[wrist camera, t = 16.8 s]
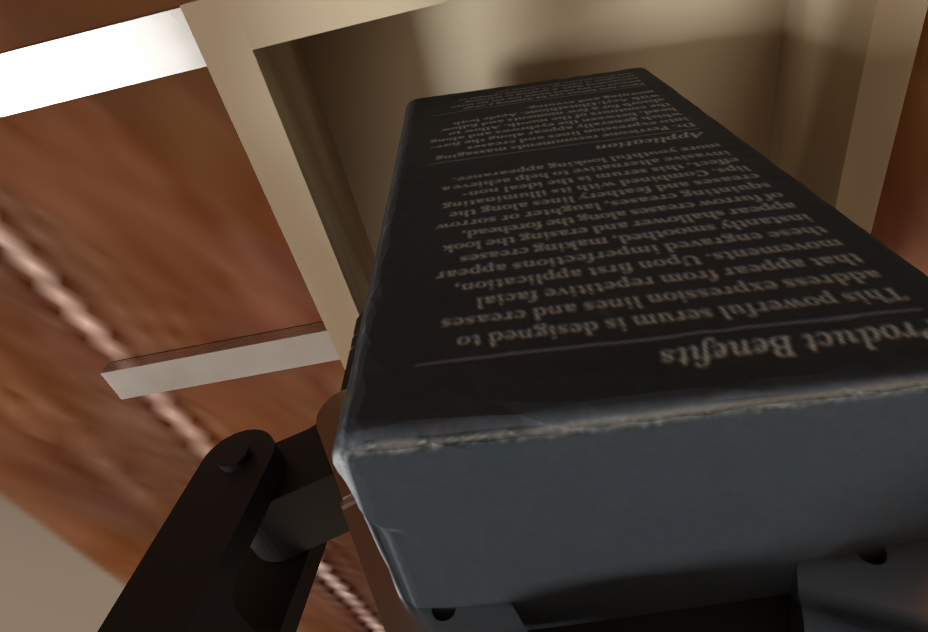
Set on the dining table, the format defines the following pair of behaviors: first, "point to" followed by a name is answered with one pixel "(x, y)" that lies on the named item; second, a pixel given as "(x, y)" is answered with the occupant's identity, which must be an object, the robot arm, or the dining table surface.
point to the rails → (117, 65)
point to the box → (624, 362)
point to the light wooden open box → (533, 60)
